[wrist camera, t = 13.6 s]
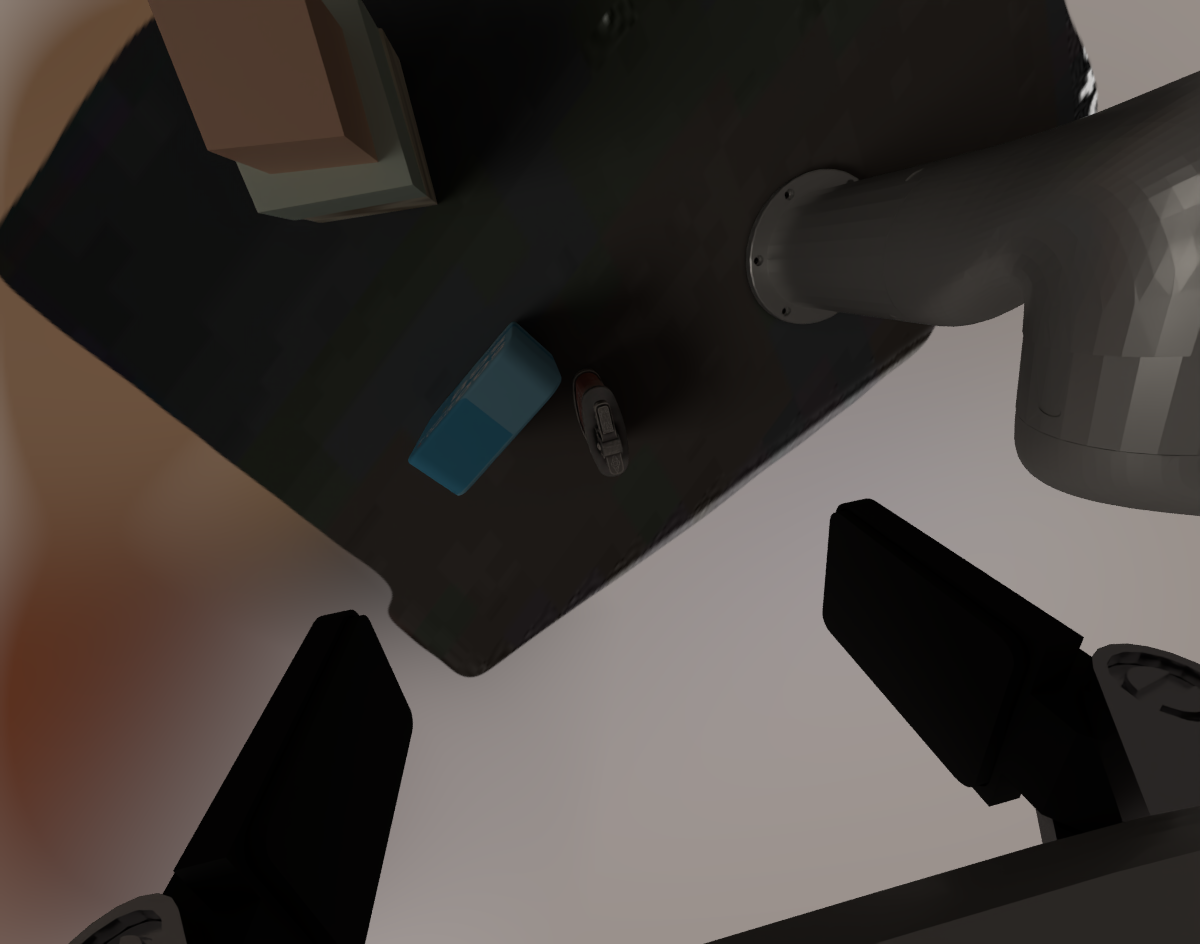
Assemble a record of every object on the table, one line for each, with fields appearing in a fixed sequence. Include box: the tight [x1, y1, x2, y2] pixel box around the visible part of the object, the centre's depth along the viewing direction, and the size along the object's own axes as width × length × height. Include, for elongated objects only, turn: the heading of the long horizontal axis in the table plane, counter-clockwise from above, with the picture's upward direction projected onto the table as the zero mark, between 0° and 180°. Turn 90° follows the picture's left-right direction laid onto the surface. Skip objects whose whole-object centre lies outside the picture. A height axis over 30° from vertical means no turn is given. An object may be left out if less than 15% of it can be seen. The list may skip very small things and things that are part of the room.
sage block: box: [236, 0, 427, 220], centre depth 28 cm, size 9×9×5 cm
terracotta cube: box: [148, 0, 378, 174], centre depth 23 cm, size 6×6×6 cm
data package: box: [408, 322, 561, 495], centre depth 38 cm, size 12×4×12 cm, turn 136°
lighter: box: [572, 369, 628, 477], centre depth 41 cm, size 8×3×10 cm, turn 13°
